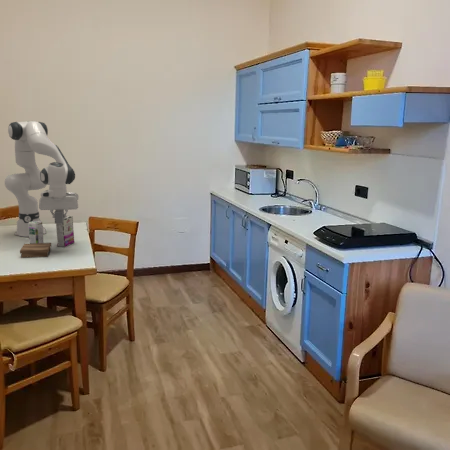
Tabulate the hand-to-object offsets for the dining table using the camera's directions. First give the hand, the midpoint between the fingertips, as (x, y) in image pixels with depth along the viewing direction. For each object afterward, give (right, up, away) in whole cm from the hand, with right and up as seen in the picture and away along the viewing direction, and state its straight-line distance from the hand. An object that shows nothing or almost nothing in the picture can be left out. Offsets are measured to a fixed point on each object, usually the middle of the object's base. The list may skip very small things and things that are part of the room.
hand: (59, 217), depth 261 cm
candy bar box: (-3, -16, +19) cm, 25 cm away
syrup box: (-18, -17, +14) cm, 28 cm away
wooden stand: (-12, -20, -1) cm, 23 cm away
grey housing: (0, -2, 0) cm, 2 cm away
